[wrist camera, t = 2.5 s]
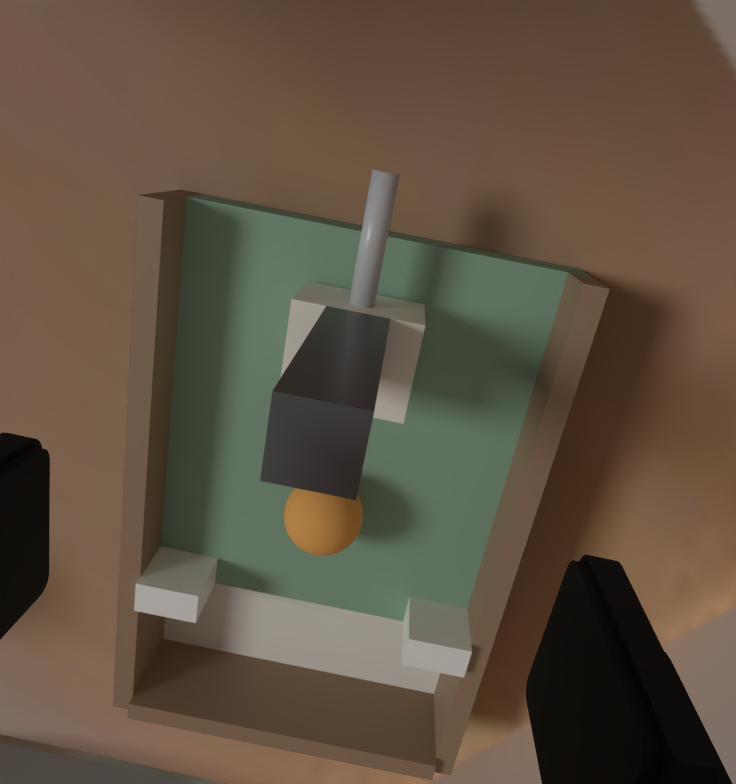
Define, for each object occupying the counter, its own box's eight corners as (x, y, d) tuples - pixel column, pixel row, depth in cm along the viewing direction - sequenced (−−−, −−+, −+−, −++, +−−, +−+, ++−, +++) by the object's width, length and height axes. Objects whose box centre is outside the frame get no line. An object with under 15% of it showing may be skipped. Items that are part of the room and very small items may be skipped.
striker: (326, 159, 24) (240, 157, 13) (451, 183, 24) (482, 204, 13) (294, 369, 28) (202, 525, 16) (405, 391, 28) (395, 564, 16)
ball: (297, 454, 29) (282, 493, 26) (372, 469, 29) (366, 510, 26) (287, 519, 31) (271, 563, 27) (358, 533, 31) (351, 579, 27)
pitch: (180, 189, 27) (131, 195, 23) (580, 269, 27) (613, 291, 23) (148, 643, 37) (108, 714, 32) (446, 704, 37) (450, 783, 32)
